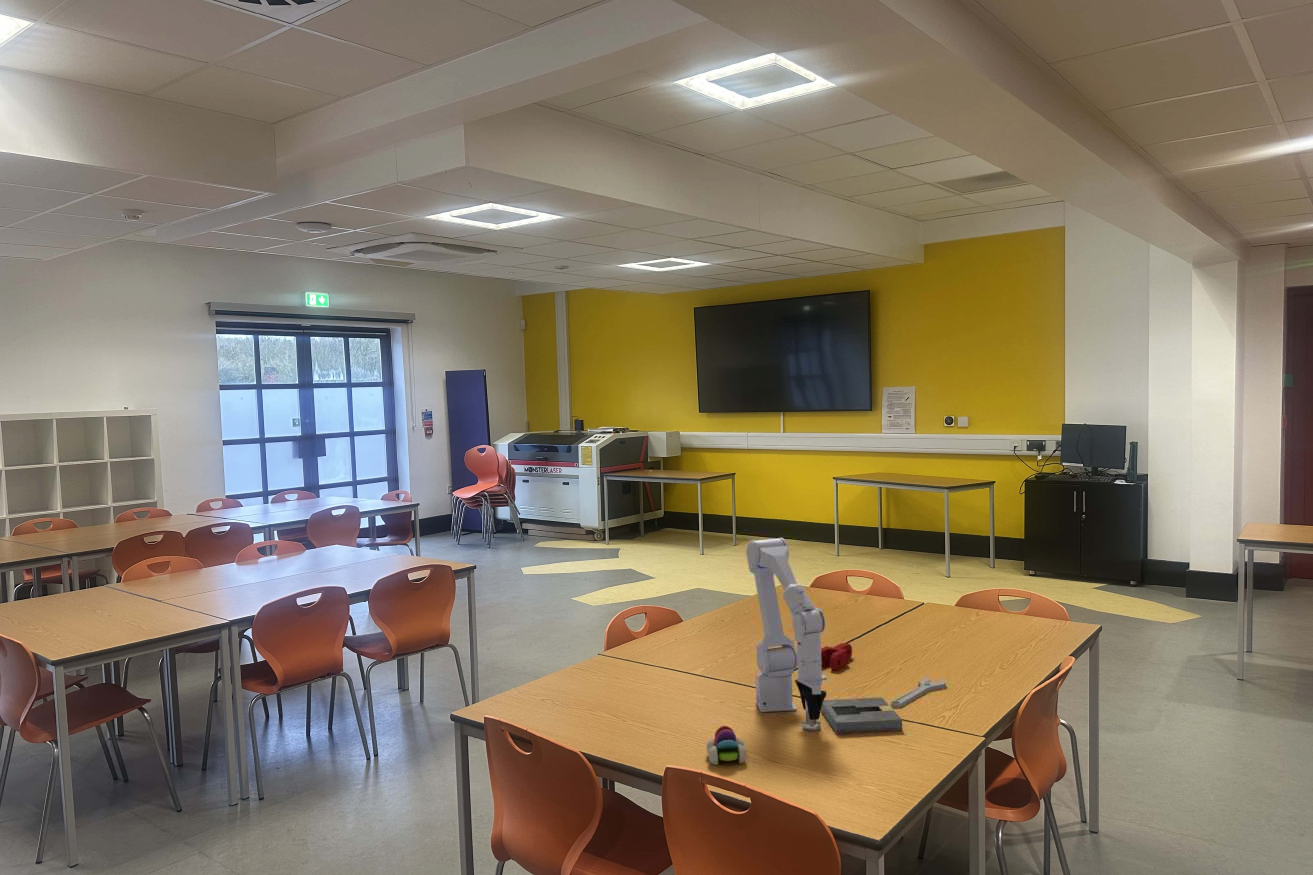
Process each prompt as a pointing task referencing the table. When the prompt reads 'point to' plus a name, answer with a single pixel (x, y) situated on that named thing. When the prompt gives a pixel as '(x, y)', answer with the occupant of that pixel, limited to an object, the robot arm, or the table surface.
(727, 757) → the colorful toy go-kart
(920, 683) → the adjustable wrench
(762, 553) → the robot arm
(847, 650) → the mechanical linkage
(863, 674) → the table surface
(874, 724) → the keyhole plate
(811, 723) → the steel peg
